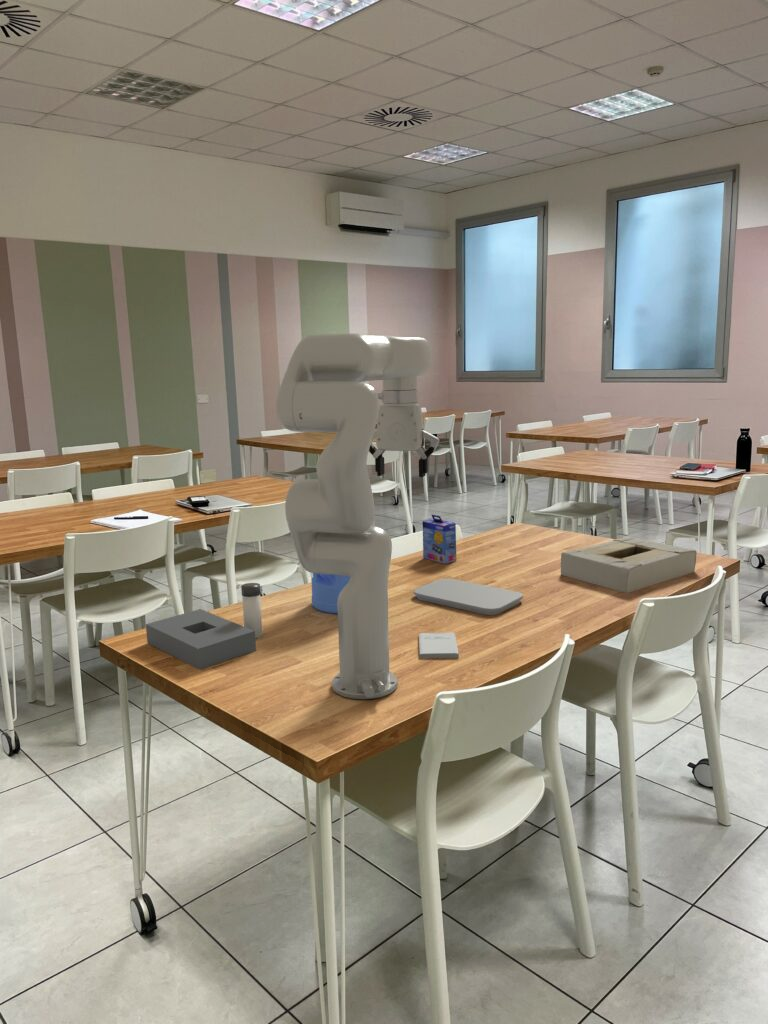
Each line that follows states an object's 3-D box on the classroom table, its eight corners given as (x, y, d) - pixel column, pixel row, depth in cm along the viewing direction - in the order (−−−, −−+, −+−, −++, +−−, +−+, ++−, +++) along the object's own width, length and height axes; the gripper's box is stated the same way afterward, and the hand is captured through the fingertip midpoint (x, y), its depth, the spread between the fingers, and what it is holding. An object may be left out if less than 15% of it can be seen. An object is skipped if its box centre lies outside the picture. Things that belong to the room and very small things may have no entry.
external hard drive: (419, 660, 159) (418, 639, 171) (458, 660, 159) (455, 638, 171) (419, 653, 159) (418, 632, 171) (458, 652, 158) (455, 631, 171)
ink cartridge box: (421, 558, 238) (421, 513, 235) (434, 555, 242) (433, 510, 239) (444, 564, 231) (444, 517, 228) (457, 560, 234) (456, 515, 232)
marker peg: (263, 637, 172) (260, 587, 170) (245, 639, 171) (241, 589, 169) (261, 631, 176) (259, 582, 174) (243, 633, 175) (240, 583, 173)
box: (628, 596, 199) (696, 572, 217) (629, 567, 197) (697, 546, 216) (559, 578, 217) (627, 558, 236) (559, 552, 216) (627, 534, 234)
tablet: (444, 585, 211) (444, 577, 211) (527, 602, 195) (527, 593, 194) (408, 599, 199) (408, 591, 198) (494, 619, 183) (494, 610, 182)
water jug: (365, 593, 204) (362, 490, 198) (378, 611, 189) (376, 501, 183) (307, 598, 200) (303, 494, 195) (317, 617, 185) (312, 505, 180)
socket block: (256, 650, 165) (254, 630, 164) (199, 669, 155) (198, 648, 154) (201, 627, 180) (200, 609, 179) (147, 643, 170) (145, 624, 170)
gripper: (357, 399, 164) (359, 477, 168) (434, 399, 159) (434, 479, 162) (368, 397, 171) (370, 472, 175) (442, 397, 166) (443, 474, 169)
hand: (401, 475), depth 169 cm, fingers open, 9 cm apart
